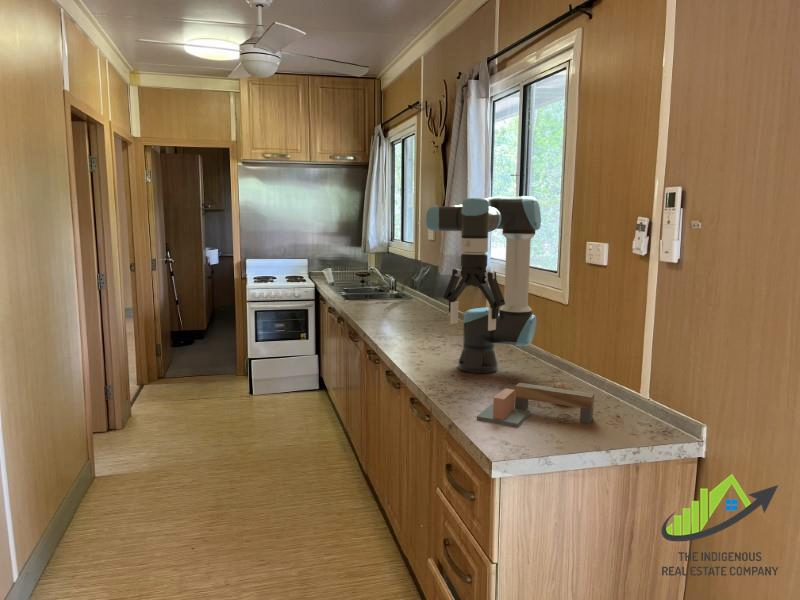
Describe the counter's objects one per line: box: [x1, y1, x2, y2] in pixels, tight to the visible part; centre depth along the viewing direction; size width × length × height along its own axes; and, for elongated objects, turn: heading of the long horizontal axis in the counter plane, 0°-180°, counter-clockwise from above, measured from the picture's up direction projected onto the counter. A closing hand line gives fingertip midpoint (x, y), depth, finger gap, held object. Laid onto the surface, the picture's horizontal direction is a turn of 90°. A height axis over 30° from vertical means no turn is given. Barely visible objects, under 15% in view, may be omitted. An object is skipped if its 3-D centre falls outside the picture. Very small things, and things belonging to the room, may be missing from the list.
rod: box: [515, 382, 595, 410], centre depth 165 cm, size 4×22×4 cm, turn 61°
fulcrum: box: [476, 387, 531, 428], centre depth 164 cm, size 12×12×7 cm
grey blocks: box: [514, 397, 594, 425], centre depth 166 cm, size 5×22×4 cm, turn 61°
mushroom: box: [553, 381, 575, 391], centre depth 178 cm, size 8×8×6 cm
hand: (472, 326), depth 164 cm, fingers open, 13 cm apart
